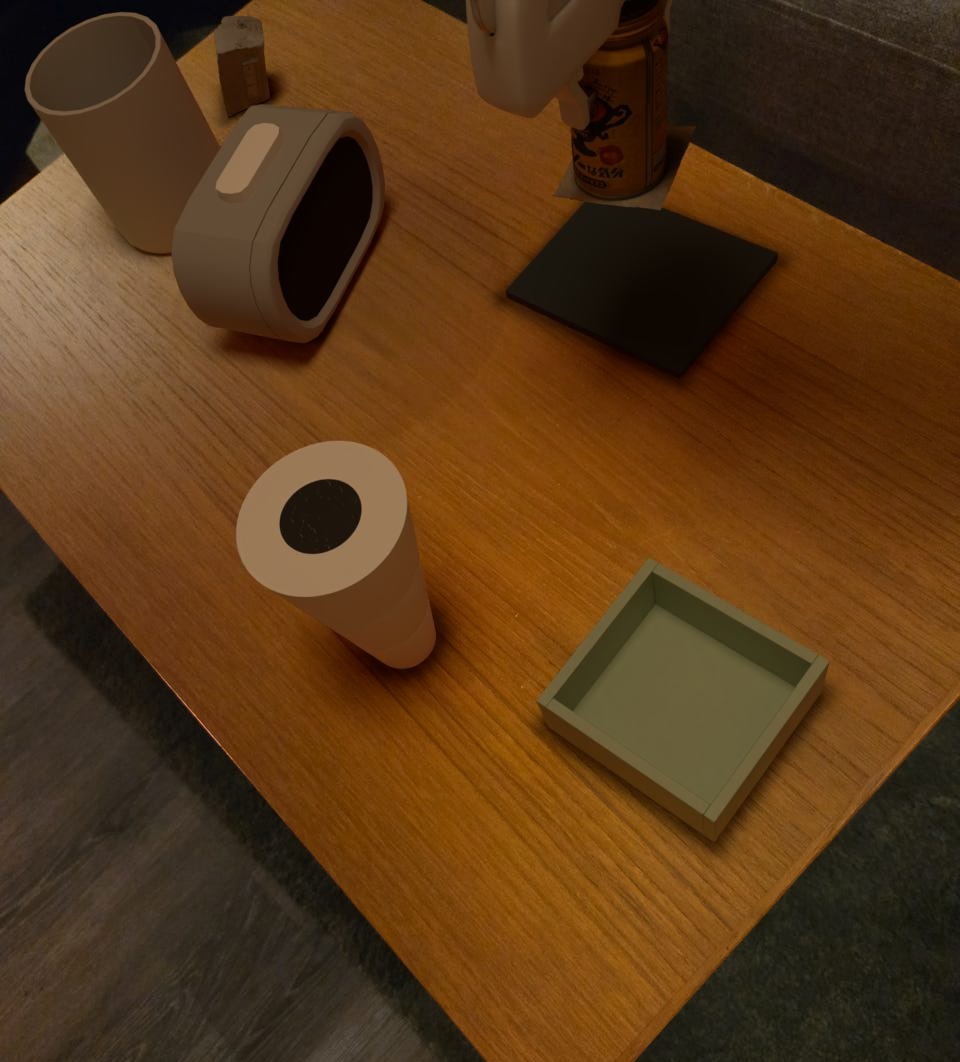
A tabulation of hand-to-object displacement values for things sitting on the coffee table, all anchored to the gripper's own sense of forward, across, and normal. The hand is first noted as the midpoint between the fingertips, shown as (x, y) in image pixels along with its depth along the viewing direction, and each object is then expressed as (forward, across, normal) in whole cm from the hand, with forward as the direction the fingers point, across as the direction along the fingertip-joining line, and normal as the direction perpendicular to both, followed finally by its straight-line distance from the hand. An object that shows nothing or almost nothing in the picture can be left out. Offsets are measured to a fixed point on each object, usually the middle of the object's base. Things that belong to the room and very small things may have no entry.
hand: (617, 79), depth 60 cm
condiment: (+6, 0, 0) cm, 6 cm away
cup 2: (+24, -32, -1) cm, 40 cm away
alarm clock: (+24, -8, +31) cm, 40 cm away
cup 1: (+24, -7, +53) cm, 59 cm away
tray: (+23, -25, -21) cm, 40 cm away
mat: (+24, +5, +4) cm, 24 cm away
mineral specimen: (+24, +8, +55) cm, 60 cm away
